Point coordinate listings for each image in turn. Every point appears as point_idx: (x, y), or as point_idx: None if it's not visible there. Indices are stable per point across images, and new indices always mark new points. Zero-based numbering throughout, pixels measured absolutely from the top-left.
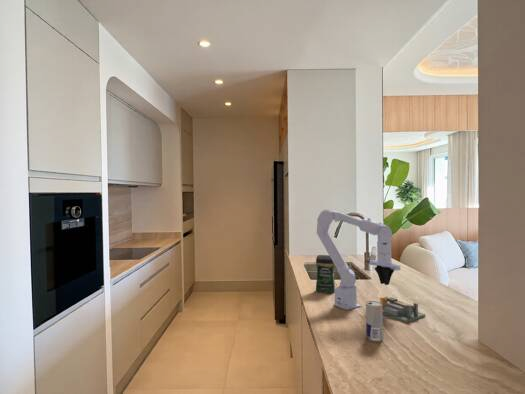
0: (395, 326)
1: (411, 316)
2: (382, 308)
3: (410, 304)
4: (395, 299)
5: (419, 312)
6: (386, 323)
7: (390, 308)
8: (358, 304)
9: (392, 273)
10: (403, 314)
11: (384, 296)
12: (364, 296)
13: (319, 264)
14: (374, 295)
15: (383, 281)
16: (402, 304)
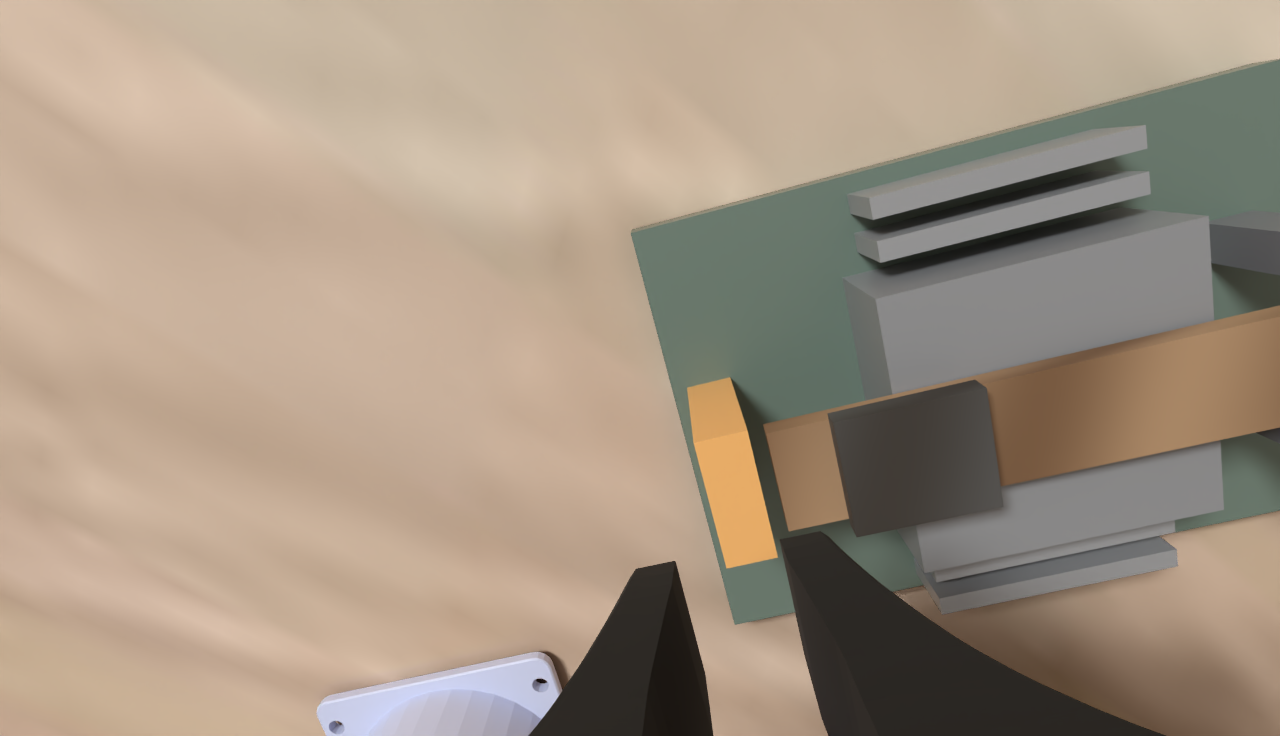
0: (1269, 664)
1: None
2: None
3: (1172, 228)
4: (986, 431)
5: (1182, 96)
6: (1151, 698)
7: (1024, 559)
8: (511, 679)
9: (1110, 727)
10: None
11: (716, 476)
12: (120, 363)
13: None
14: (83, 167)
15: (691, 653)
16: (1193, 442)
